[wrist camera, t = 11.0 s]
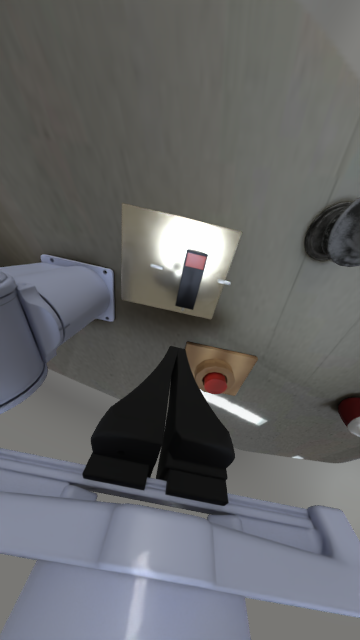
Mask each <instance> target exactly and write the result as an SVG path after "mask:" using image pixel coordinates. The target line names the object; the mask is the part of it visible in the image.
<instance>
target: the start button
mask: <svg viewBox="0 0 360 640" xmlns="http://www.w3.org/2000/svg"><path fill="white" fill-rule="evenodd" d="M204 388H205V390H206V391H207V392H209V393H211V394H220V393H223V392H224V391H225V390H226V389H227V383H226V379H225V376H224V375H223V374H222V373H218V372H211V373H208V374H206V375H205V376H204Z"/></svg>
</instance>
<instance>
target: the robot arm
mask: <svg viewBox="0 0 360 640" xmlns="http://www.w3.org/2000/svg"><path fill="white" fill-rule="evenodd" d="M52 259H53V260H54V261H53V260H52ZM41 261H42V263H34V264H25V265H16V266H8V267H0V414H2V413H4V412H6V411H8V410H9V409H11V408H13V407H15V406H16V405H18V404H20V403H21V402H23V401H24V400H25V399H27V398H28V397H29V396H30V395H31V394H33V393H34V392H35V391H36V390H37V389H38V388H39V387H40V386H41V385H42V383H43V382H44V380H45V378H46V376H47V372H48V367H47V364H46V363H47V362H48V361H50V360H51V359H52V358H53V357H55V356H56V355H57V353H56V350H57V348H58V347H59V346H60V345H61V344H63V343H64V342H65V341H67V340H68V339H69V338H71V337H72V336H73V335H75V334H76V333H77V332H79V331H80V330H81V329H83V328H84V327H85V326H87V325H88V324H89V323H90V322H92V321H93V320H94V319H101V320H106V321H110V322H112V321H114V320H115V306H114V272H113V270H111V269H108V268H104V267H99V266H95V265H91V264H86V263H82V262H77V261H73V260H68V259H64V258H60V257H55V256H51V255H46V254H42V255H41ZM105 271H107V274H106V273H105ZM107 317H108V318H109V319H108V318H107ZM170 381H171V385H170ZM169 388H170V397H169V407H168V413H167V419H166V412H167V403H168V396H169ZM165 420H166V425H165ZM164 430H165V431H164ZM91 445H92V450H93V453H92V455H91V457H90V459H89V461H88V463H87V465H83V464H78V463H73V462H68V461H63V460H58V459H53V458H48V457H43V456H38V455H33V454H28V453H23V452H18V451H13V450H8V449H3V448H0V554H5V555H11V556H17V557H22V558H27V559H33V560H37V561H36V563H35V565H34V567H33V569H32V571H31V573H30V575H29V577H28V579H27V581H26V583H25V585H24V587H23V589H22V591H21V594H20V595H19V597H18V599H17V601H16V604H15V606H14V608H13V610H12V612H11V614H10V616H9V618H8V620H7V622H6V624H5V626H4V628H3V630H2V632H1V634H0V640H251V638H250V631H249V623H248V618H247V610H246V603H245V598H251V599H257V600H262V601H268V602H274V603H279V604H285V605H290V606H296V607H302V608H307V609H313V610H319V611H324V612H330V613H335V614H341V615H347V616H353V617H358V618H360V541H359V539H358V538H357V536H356V534H355V532H354V531H353V529H352V527H351V525H350V523H349V522H348V520H347V518H346V516H345V515H344V513H343V511H341V510H340V509H336V508H331V507H326V506H320V505H317V506H316V505H315V506H311V507H309V508H308V509H304V508H299V507H294V506H289V505H284V504H279V503H274V502H268V501H264V500H258V499H253V498H249V497H244V496H239V495H234V494H229V493H227V487H226V479H227V471H226V468H227V467H228V466H229V465H230V464H231V463H232V462H233V460H234V458H235V453H234V448H233V444H232V441H231V437H230V434H229V432H228V430H227V429H226V428H225V427H224V425H223V424H222V423H221V422H220V420H219V419H218V418H217V416H216V415H215V413H214V412H213V410H212V409H211V407H210V406H209V404H208V403H207V401H206V400H205V398H204V396H203V394H202V393H201V391H200V389H199V387H198V385H197V383H196V381H195V378H194V376H193V373H192V371H191V368H190V365H189V362H188V358H187V354H186V350H185V349H182V348H177V347H173V346H170V347H169V349H168V352H167V353H166V355H165V357H164V358H163V360H162V361H161V362H160V364H159V365H158V366H157V367H156V369H155V370H154V371H153V372H152V373H151V374H150V375H149V376H148V377H147V378H146V379H145V380H144V381H143V382H142V383H141V384H140V385H139V386H138V387H137V388H135V389H134V390H133V391H132V392H131V393H129V394H128V395H127V396H125V397H124V398H123V399H121V400H120V401H118V402H117V403H116V404H115V405H113V406H111V407H110V409H109V410H108V411H107V412H106V414H105V415H104V416H103V418H102V419H101V421H100V422H99V424H98V425H97V427H96V429H95V431H94V433H93V435H92V437H91ZM161 446H162V448H161ZM160 449H161V454H160V459H159V464H158V470H157V475H156V479H153V478H150V477H151V474H152V471H153V468H154V466H155V464H156V461H157V458H158V455H159V452H160ZM91 491H93V492H99V493H104V494H109V495H114V496H119V497H125V498H129V499H134V500H140V501H145V502H150V503H155V504H160V505H165V506H170V507H176V508H181V509H186V510H191V511H196V512H201V513H207V514H211V515H208V517H207V519H205V518H202V517H198V516H194V515H189V514H184V513H179V512H174V511H168V510H163V509H158V508H153V507H148V506H143V505H136V504H119V503H109V502H99V501H96V499H97V494H96V493H93V492H91Z"/></svg>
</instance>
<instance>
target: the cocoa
mask: <svg viewBox="0 0 360 640" xmlns="http://www.w3.org/2000/svg"><path fill="white" fill-rule="evenodd" d="M338 412H339V414H340V417H341V419H342V420H343V422H344V423H345V425H346V426H347V428H348V429H349V431H350V432H351V433H353V434H355V435H357V436H359V437H360V398H357V397H353V398H347V399H345V400H343V401H342V402H341V403H340V404H339V405H338Z"/></svg>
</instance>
